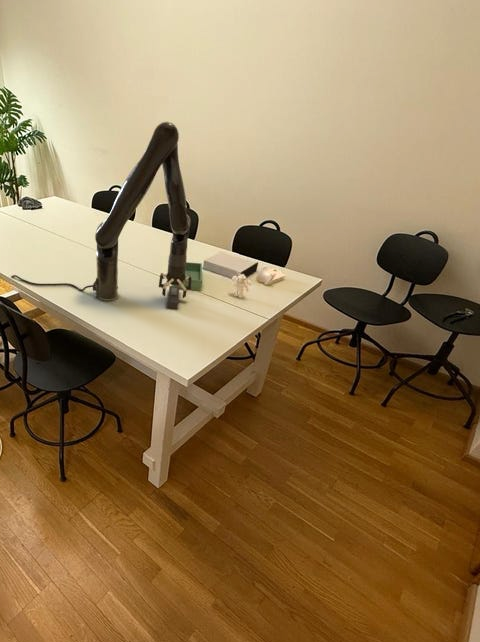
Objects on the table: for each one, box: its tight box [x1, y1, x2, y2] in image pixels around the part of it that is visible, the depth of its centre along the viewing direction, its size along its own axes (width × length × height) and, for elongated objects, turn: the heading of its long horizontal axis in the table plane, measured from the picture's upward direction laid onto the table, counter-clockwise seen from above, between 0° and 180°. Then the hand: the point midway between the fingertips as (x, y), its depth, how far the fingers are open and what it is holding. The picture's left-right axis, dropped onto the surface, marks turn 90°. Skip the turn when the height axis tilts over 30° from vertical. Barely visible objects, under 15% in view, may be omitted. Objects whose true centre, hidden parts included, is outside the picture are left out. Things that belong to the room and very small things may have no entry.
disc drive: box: [202, 251, 259, 279], centre depth 195 cm, size 18×22×5 cm
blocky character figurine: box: [231, 272, 252, 299], centre depth 169 cm, size 9×4×12 cm, turn 53°
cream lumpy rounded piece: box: [255, 265, 286, 286], centre depth 185 cm, size 13×7×8 cm, turn 124°
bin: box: [172, 261, 203, 292], centre depth 184 cm, size 13×21×5 cm, turn 171°
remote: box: [166, 285, 180, 310], centre depth 166 cm, size 5×16×3 cm, turn 171°
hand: (173, 296), depth 166 cm, fingers open, 8 cm apart
